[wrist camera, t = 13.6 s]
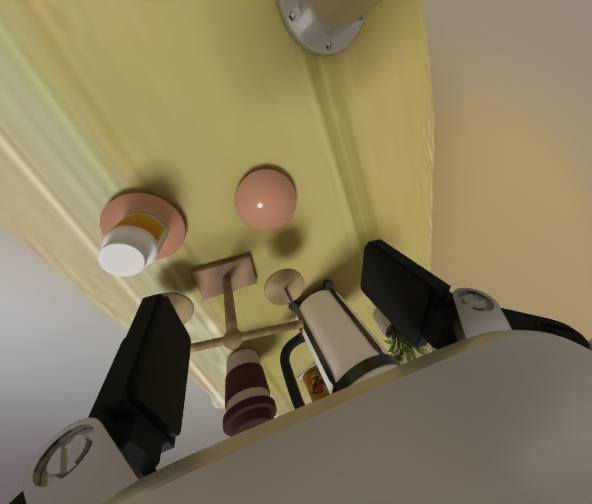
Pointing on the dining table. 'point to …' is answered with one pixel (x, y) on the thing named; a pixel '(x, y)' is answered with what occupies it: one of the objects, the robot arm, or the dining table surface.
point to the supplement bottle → (132, 243)
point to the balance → (224, 281)
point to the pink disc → (265, 199)
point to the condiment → (314, 383)
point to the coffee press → (335, 344)
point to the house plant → (394, 333)
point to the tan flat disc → (152, 204)
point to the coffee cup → (246, 393)
